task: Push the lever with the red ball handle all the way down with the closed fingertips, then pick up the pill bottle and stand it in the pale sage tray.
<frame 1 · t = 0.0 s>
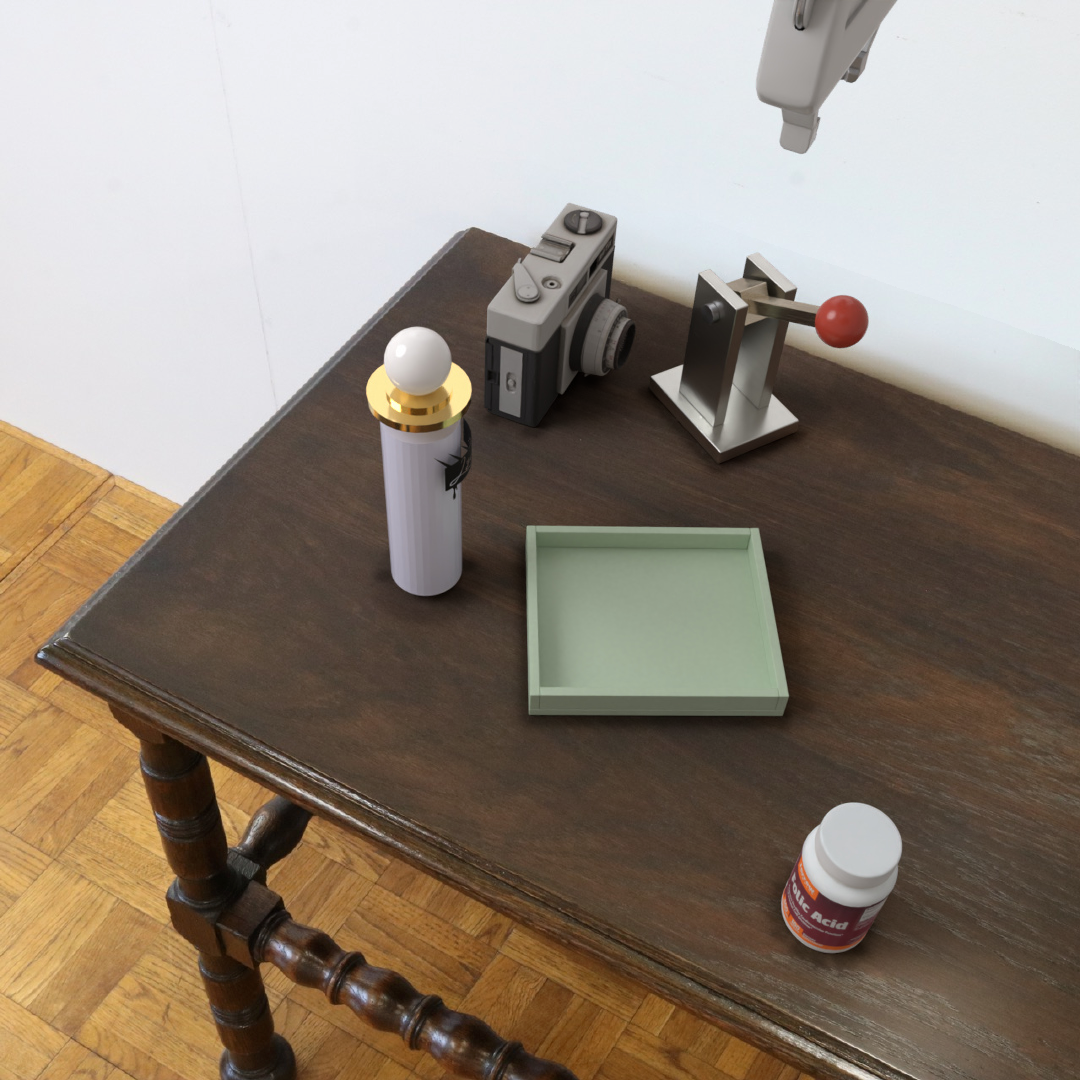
hand: (822, 109, 78), 23 cm above the table, tool pointing down, fingers open, 8 cm apart
pill bottle: (823, 914, 67), on the table
bracket: (721, 409, 93), on the table
lever: (790, 311, 81), point 12 cm above the table, hinge at 28.0°
camera: (569, 373, 95), on the table
tray: (647, 626, 79), on the table
perfume bottle: (427, 577, 82), on the table
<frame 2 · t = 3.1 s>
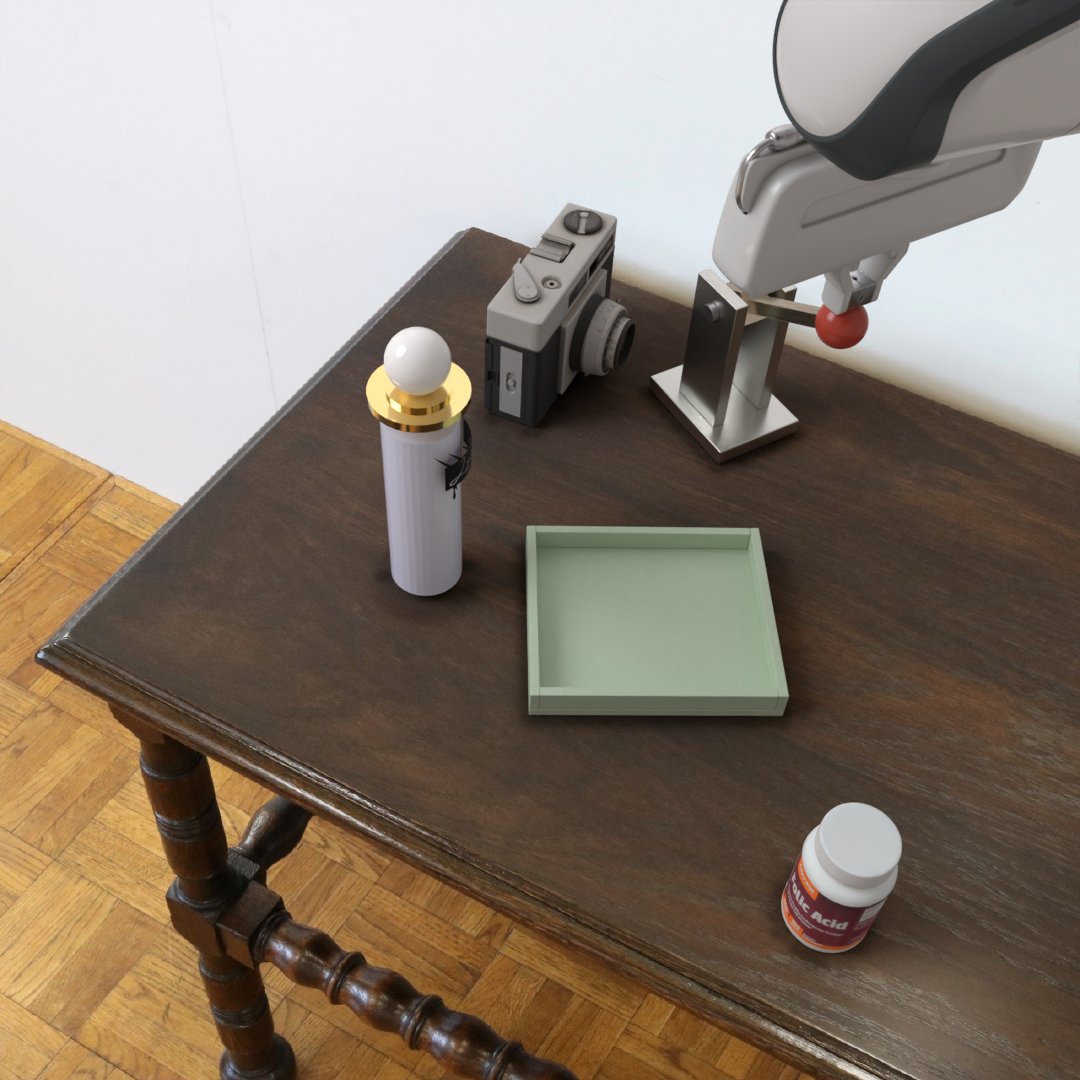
hand: (848, 302, 76), 16 cm above the table, tool pointing down, fingers closed, pressing on lever
lever: (791, 311, 81), point 12 cm above the table, hinge at 27.5°, touching gripper
everything else where it was.
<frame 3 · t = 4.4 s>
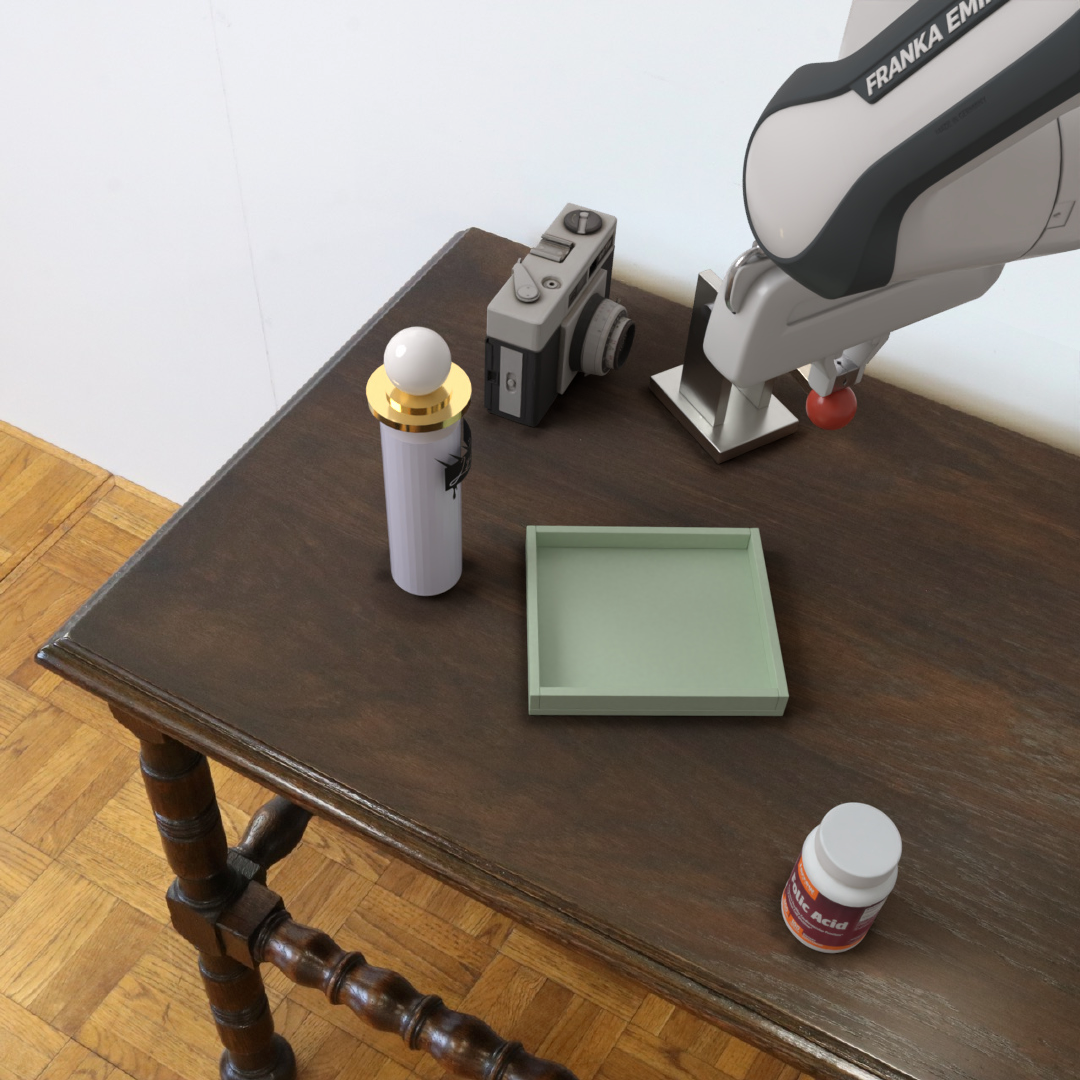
hand: (832, 384, 80), 10 cm above the table, tool pointing down, fingers closed
lever: (787, 353, 83), point 9 cm above the table, hinge at -7.8°, touching gripper
everything else where it was.
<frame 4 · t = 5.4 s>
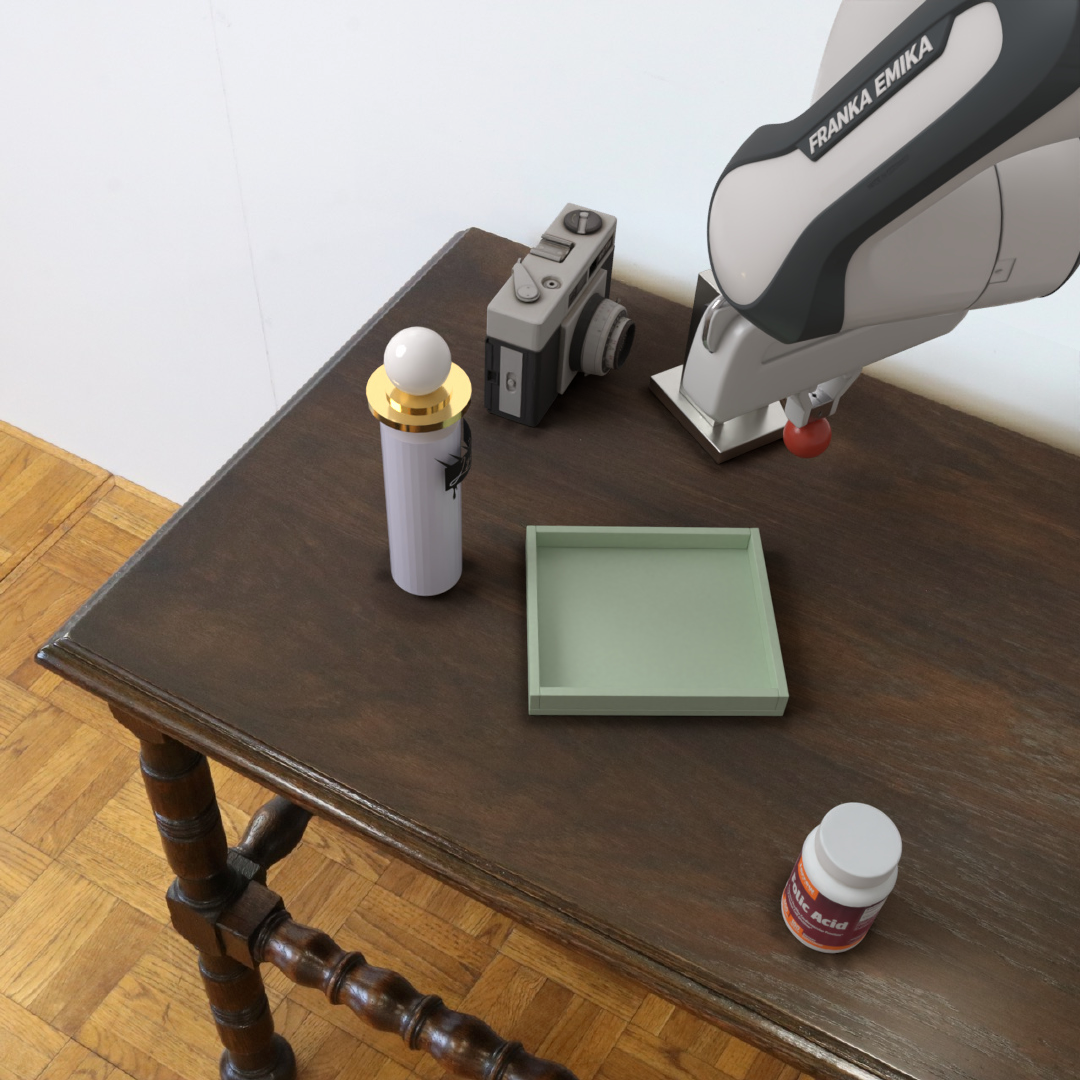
hand: (808, 415, 83), 7 cm above the table, tool pointing down, fingers closed, pressing on lever
lever: (775, 369, 85), point 7 cm above the table, hinge at -30.4°, touching gripper
everything else where it was.
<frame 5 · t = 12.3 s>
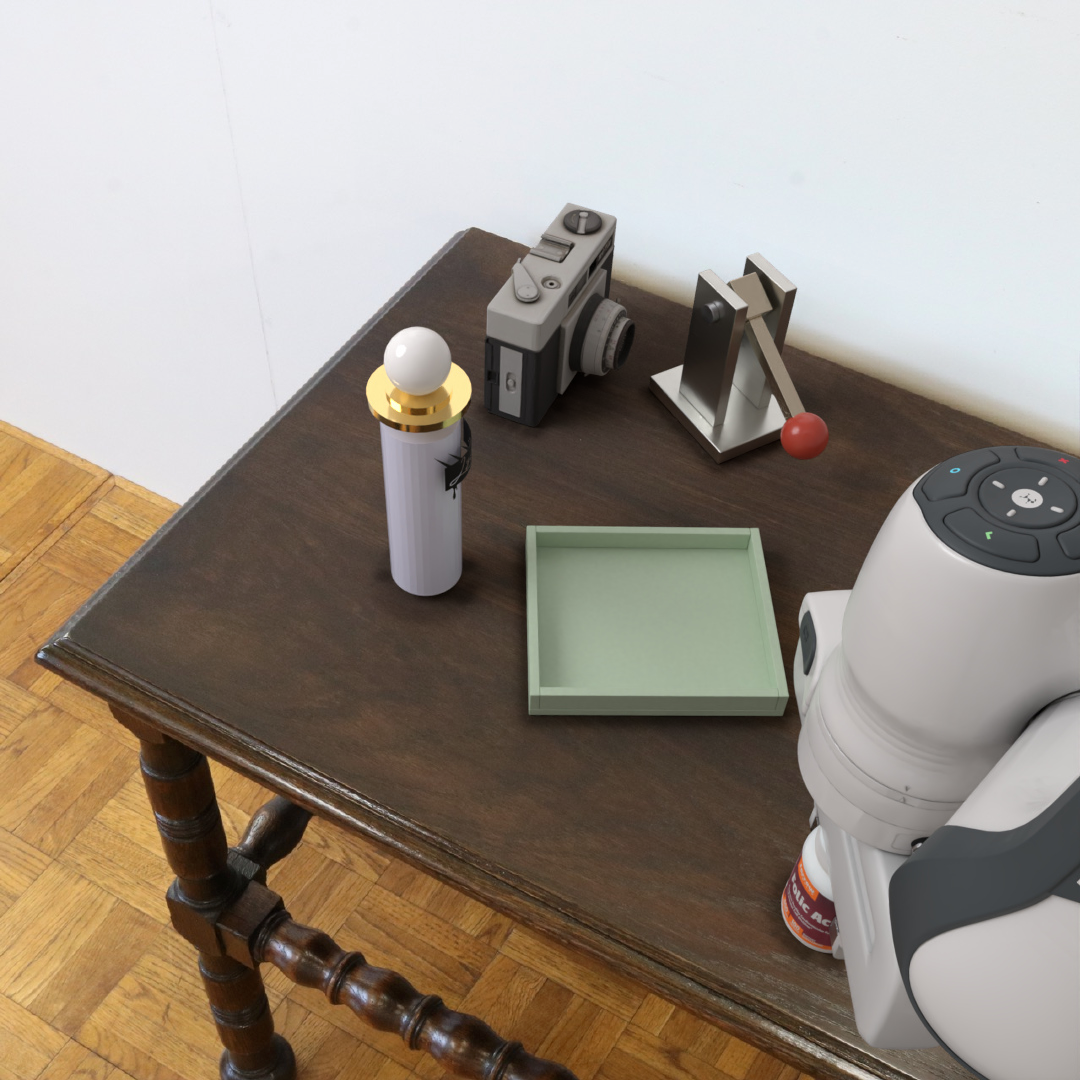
hand: (835, 888, 65), 3 cm above the table, tool pointing down, fingers closed on pill bottle, 5 cm apart
pill bottle: (823, 914, 67), on the table, touching gripper
lever: (774, 370, 85), point 7 cm above the table, hinge at -32.5°
everything else where it was.
when the fingers open (3 cm above the table, at t = 19.3 s): pill bottle stays where it is, resting on tray.
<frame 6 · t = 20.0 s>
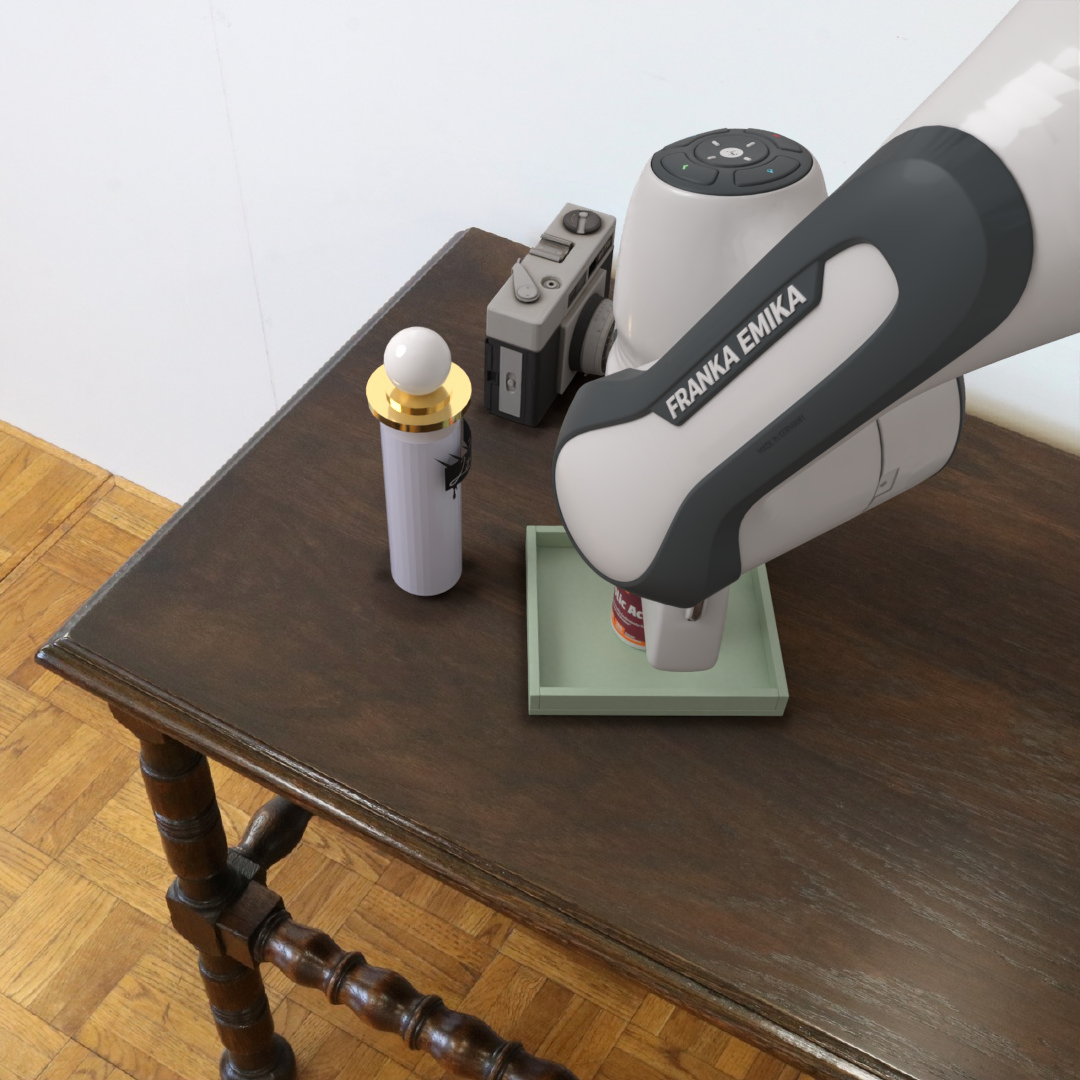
hand: (655, 586, 76), 4 cm above the table, tool pointing down, fingers open, 8 cm apart
pill bottle: (647, 624, 79), resting on tray
everything else where it was.
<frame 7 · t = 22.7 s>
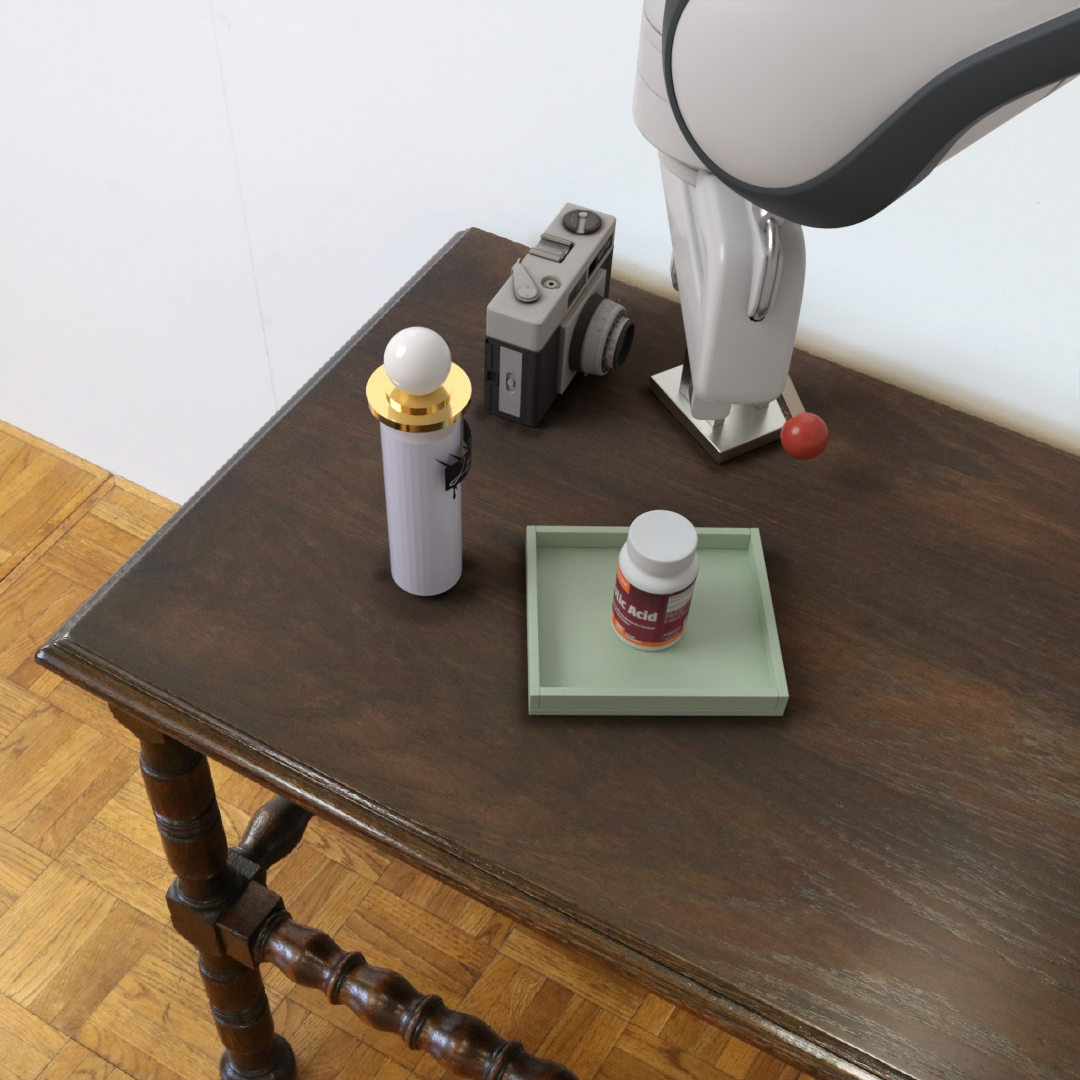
hand: (696, 343, 62), 23 cm above the table, tool pointing down, fingers open, 8 cm apart
nothing on the table moved.
at the end: lever at -32° (first picture: +28°); pill bottle inside the target area in the tray (0.2 cm from its centre), point 0.4 cm above the tray's base; pill bottle tilted 0° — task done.
